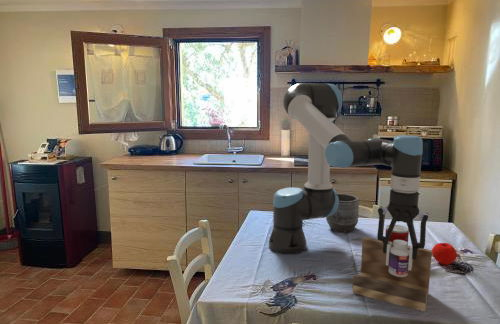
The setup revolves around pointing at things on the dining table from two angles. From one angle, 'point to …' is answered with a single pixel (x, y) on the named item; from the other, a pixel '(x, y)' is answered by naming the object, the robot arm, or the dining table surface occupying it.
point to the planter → (345, 214)
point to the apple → (444, 253)
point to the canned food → (398, 233)
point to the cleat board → (393, 277)
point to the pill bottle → (399, 259)
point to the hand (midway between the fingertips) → (398, 265)
